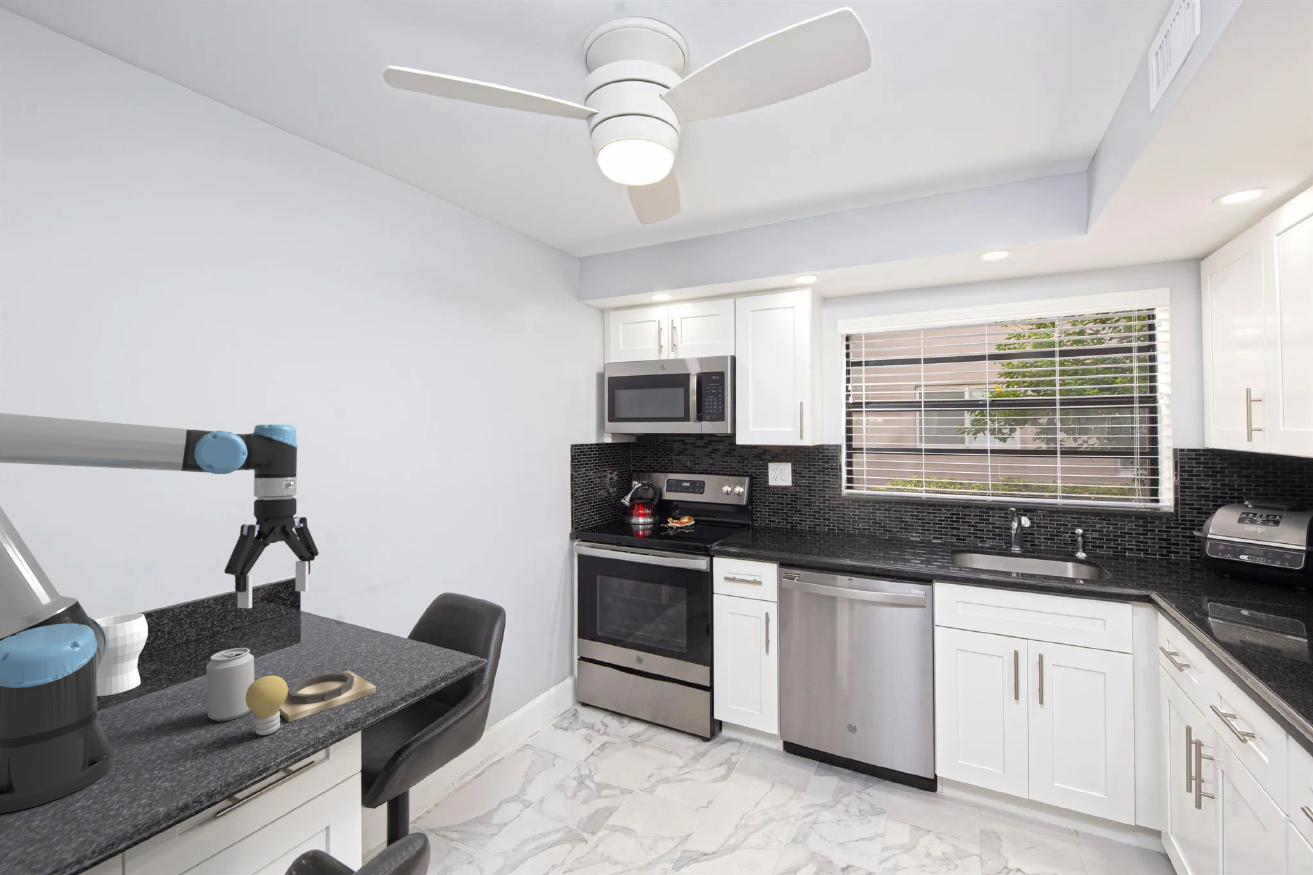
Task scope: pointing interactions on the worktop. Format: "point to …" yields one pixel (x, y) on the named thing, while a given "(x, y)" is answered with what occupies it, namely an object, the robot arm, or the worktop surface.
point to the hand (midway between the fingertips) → (274, 598)
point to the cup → (121, 653)
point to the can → (229, 683)
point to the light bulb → (266, 702)
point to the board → (321, 706)
